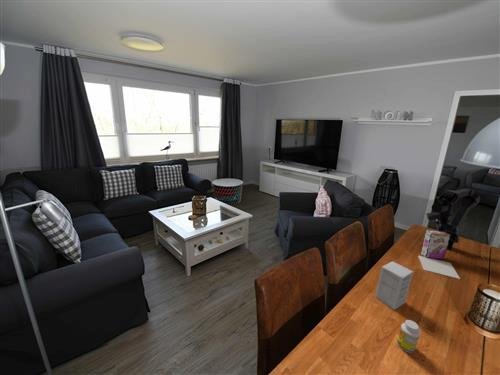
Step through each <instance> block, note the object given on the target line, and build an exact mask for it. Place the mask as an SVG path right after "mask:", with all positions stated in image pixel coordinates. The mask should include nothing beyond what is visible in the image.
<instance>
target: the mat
mask: <svg viewBox="0 0 500 375" xmlns="http://www.w3.org/2000/svg"><path fill="white" fill-rule="evenodd" d="M417 257H418V259H419V261H420V264H421V266H422V269H423V270H424V271H426V272H428V273H429V272H430V273H433V274H438V275H441V276H445V277H450V278H453V279H457V280H461V277H460V276H459V274H458V273H457V271H456V270H455V267H454V265H452V263H451V262H448V261H444V260H441V259H439V260H438V259H436V258H426V257H424V256H423V255H418V256H417Z"/></svg>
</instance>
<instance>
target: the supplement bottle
mask: <svg viewBox="0 0 500 375" xmlns="http://www.w3.org/2000/svg"><path fill="white" fill-rule="evenodd" d="M400 325H401V326H400V328H399V333H398V336H397V341H396V342H397V346H399V348H400V349H401V350H403V351H404V352H406V353H411V354H412V353H414V352H415V351H416V348H417V345H418V341H419V339H420V334H421V332H420V330H419V329H420V328H419V327H420V326H419V325H418V323H416V322H415V321H414V320H411V319H406V320H405V322H404V323H402V324H400Z"/></svg>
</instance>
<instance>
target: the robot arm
mask: <svg viewBox="0 0 500 375" xmlns="http://www.w3.org/2000/svg"><path fill="white" fill-rule="evenodd" d="M459 199H460V201H459ZM436 200H437V201H436V203H433V204H432V205H431V211H432V212H427V213H426V219H427V220H428V221H434V223H435V224H436V231H440V232H446V233H448V234H450V238H449V242H448V246H447V250H449V251H455V249H454V244H458V243H459V242H460V239H461V238H460V236H459V234H460V230H459V227H460V226H461V225H462V223H463V221H465V220H464V219H465V218H466V216H467V215H468V213H469V211H470V209H473V208H474V207H477V205H478V204H479V203H480V201H481V198H480V195H479V194H478V193H477V192H475V190H474V189H472V188H468V187H463V188H461V189H457V190H449V189H446V190H444V191H442V192H441V194H440V195H439V196H438V198H437V199H436ZM458 201H459V202H460V206H459V208H458V209H457V211H456V213H455V215H454V216H453V214H452V212H453V209H454V205H456V203H457V202H458ZM452 216H453V218H452V220H450V218H451V217H452Z"/></svg>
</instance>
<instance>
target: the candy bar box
mask: <svg viewBox="0 0 500 375" xmlns="http://www.w3.org/2000/svg"><path fill="white" fill-rule="evenodd" d="M449 238H450V234H448V233H446V232H440V231H437V230H428V229H426V231H425V235H424V239H423V243H422V248H421V252H420V253H421V256H422V257H426V258H431V259H436V260H438V259H439V260H445V258H446V253H447V250H448V249H447V246H448V242H449Z"/></svg>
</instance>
